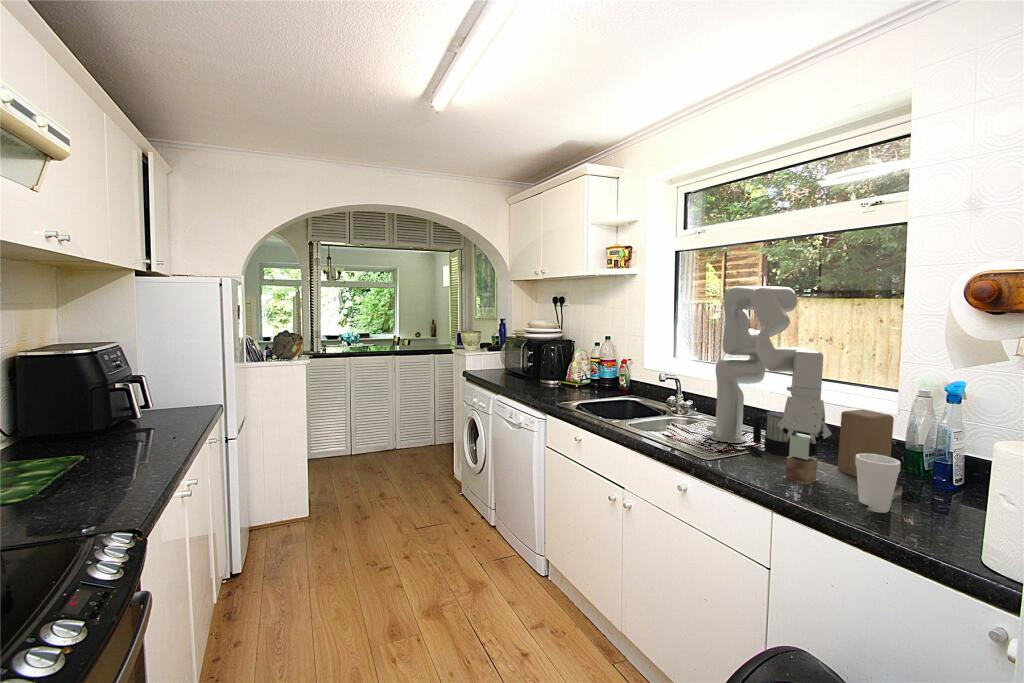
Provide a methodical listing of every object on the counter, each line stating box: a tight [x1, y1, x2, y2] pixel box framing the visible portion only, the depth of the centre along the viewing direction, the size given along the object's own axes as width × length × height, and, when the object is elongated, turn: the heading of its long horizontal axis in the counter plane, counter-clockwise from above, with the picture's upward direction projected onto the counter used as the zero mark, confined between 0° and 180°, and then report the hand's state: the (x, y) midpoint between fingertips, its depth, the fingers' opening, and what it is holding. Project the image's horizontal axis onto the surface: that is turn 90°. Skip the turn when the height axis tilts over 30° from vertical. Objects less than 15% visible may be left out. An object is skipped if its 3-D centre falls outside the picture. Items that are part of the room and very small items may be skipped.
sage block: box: [788, 432, 816, 460], centre depth 151 cm, size 5×5×6 cm
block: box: [837, 409, 895, 477], centre depth 156 cm, size 10×10×20 cm
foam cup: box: [855, 454, 902, 514], centre depth 133 cm, size 10×9×13 cm
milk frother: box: [745, 410, 789, 459], centre depth 176 cm, size 14×16×15 cm
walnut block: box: [785, 456, 818, 484], centre depth 151 cm, size 6×6×6 cm
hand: (802, 452), depth 151 cm, fingers closed on sage block, 4 cm apart
